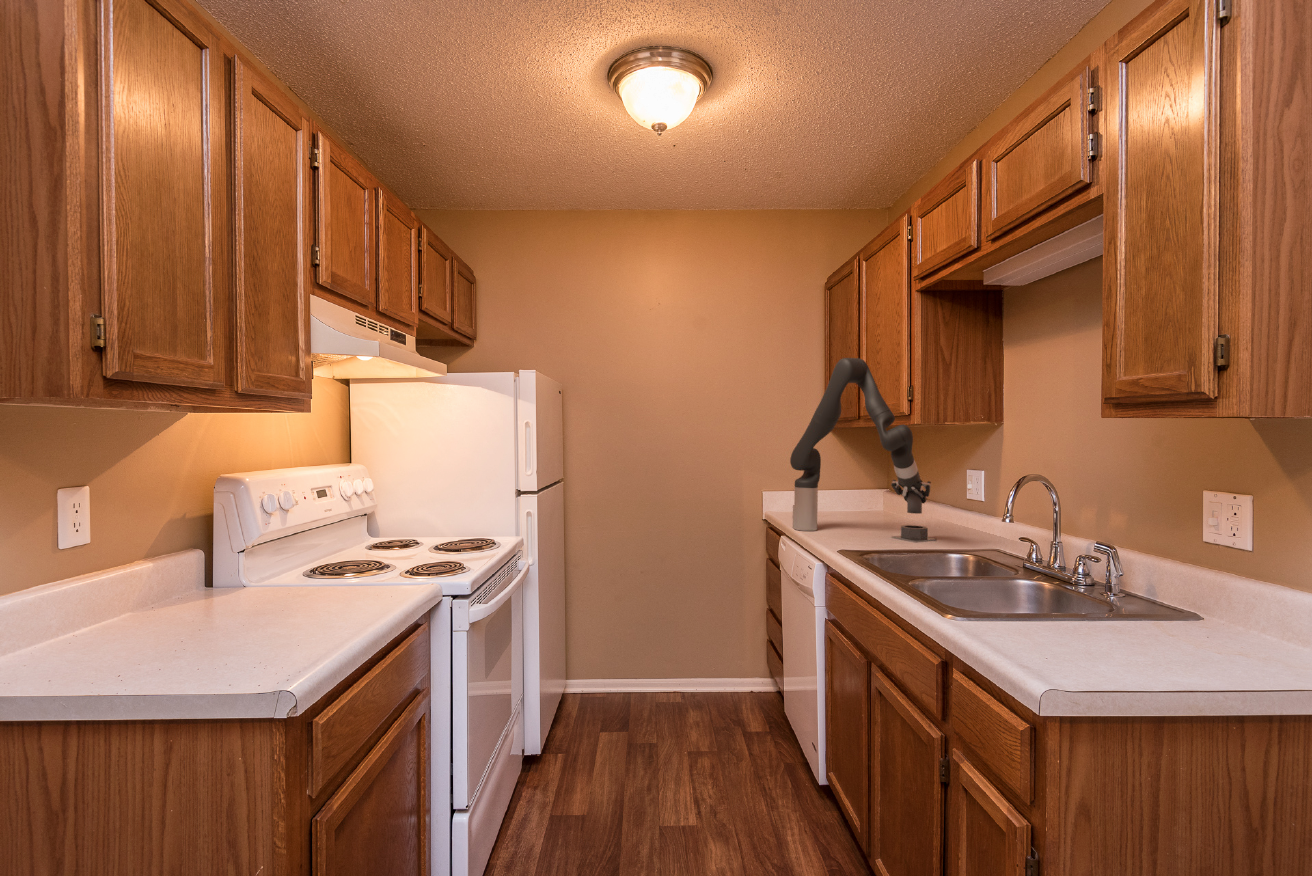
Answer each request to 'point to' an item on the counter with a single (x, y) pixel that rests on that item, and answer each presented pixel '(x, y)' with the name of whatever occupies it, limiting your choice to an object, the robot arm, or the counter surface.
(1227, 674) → the counter surface
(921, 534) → the hex nut base plate
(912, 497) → the grey round peg
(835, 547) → the counter surface
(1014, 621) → the counter surface
